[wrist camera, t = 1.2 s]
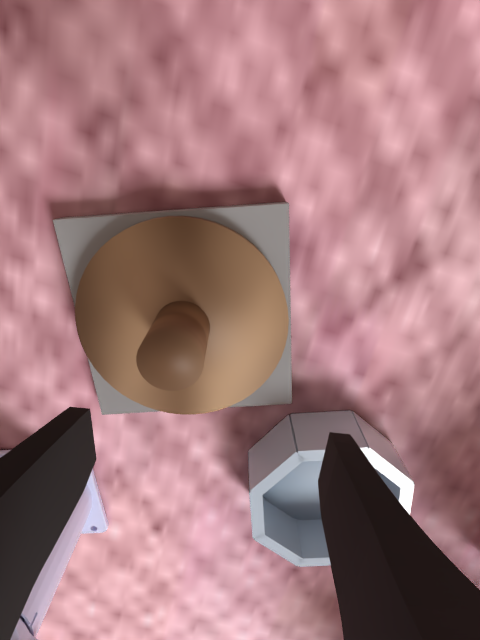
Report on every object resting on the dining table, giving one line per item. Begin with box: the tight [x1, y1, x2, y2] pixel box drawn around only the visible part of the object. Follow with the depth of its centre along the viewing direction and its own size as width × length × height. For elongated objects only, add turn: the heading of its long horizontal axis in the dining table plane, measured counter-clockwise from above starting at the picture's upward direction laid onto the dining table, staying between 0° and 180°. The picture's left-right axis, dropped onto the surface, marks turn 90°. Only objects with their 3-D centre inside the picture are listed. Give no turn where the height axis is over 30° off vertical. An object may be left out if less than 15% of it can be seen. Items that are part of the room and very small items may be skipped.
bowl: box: [248, 410, 414, 567], centre depth 25 cm, size 10×10×4 cm
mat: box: [53, 202, 292, 415], centre depth 21 cm, size 12×12×1 cm
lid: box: [75, 216, 289, 414], centre depth 19 cm, size 12×12×5 cm
